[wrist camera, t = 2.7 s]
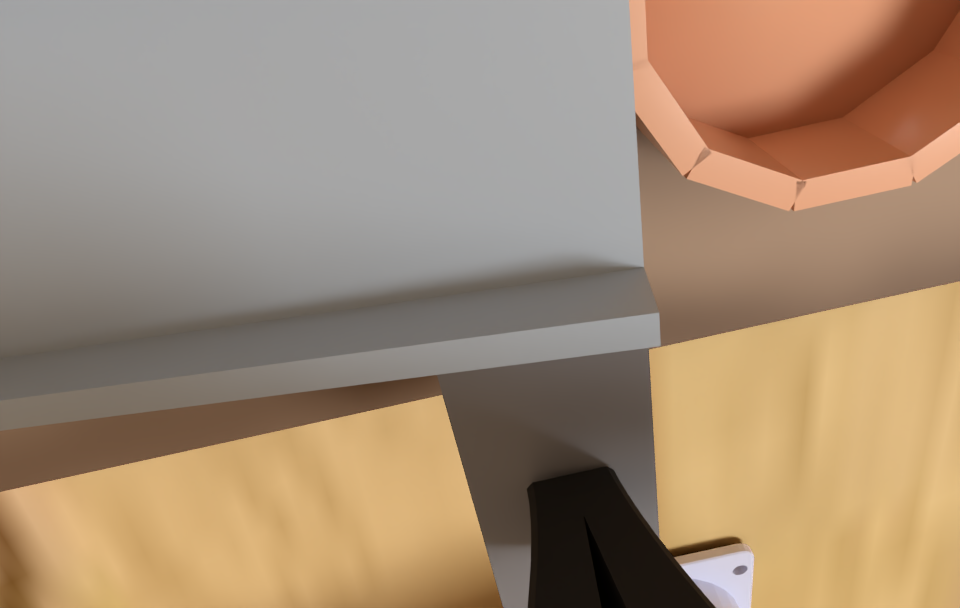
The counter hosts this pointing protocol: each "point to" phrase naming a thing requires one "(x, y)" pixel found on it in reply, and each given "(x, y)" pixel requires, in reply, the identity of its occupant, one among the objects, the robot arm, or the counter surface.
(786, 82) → the orange bowl
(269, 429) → the base
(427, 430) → the counter surface
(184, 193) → the lever
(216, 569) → the counter surface
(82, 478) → the counter surface
